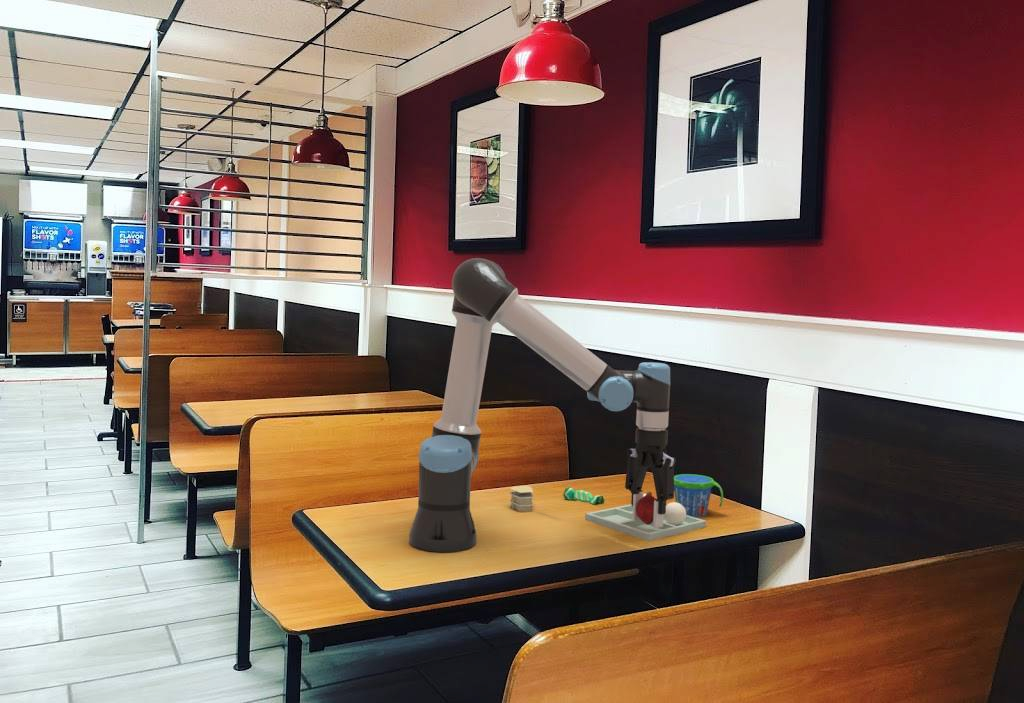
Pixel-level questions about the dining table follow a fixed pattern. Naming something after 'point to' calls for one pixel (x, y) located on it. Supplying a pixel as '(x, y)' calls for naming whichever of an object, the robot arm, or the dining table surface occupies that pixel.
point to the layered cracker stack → (522, 498)
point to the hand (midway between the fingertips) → (647, 523)
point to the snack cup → (694, 493)
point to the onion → (646, 508)
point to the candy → (582, 496)
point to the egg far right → (675, 513)
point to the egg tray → (641, 523)
